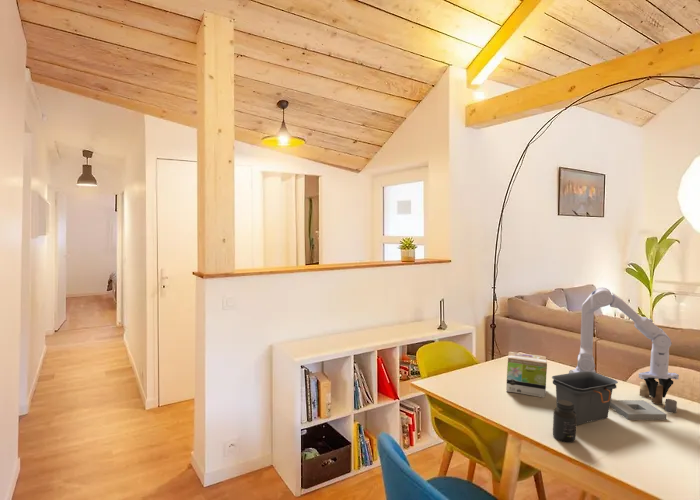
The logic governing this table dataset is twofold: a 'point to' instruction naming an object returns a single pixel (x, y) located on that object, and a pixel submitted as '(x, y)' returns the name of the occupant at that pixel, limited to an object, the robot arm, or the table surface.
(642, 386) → the medium dowel
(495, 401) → the table surface
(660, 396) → the long dowel
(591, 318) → the robot arm
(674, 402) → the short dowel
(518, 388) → the tea box
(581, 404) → the storage bin
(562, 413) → the supplement bottle
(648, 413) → the hole board
